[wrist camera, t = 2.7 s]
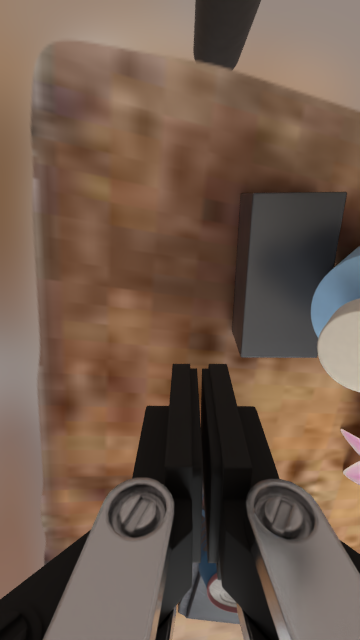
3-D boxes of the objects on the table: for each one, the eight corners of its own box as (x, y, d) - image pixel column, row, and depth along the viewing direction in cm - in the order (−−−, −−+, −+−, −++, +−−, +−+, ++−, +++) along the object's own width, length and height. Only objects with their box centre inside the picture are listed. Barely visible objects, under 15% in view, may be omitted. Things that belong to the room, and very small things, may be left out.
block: (240, 193, 24) (253, 192, 20) (316, 192, 24) (347, 192, 19) (231, 331, 29) (240, 357, 24) (296, 331, 29) (317, 358, 24)
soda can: (247, 492, 36) (273, 622, 25) (190, 484, 36) (191, 612, 25) (263, 448, 34) (300, 572, 23) (201, 439, 34) (209, 560, 22)
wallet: (203, 534, 37) (324, 552, 37) (202, 518, 38) (318, 536, 39) (172, 624, 44) (274, 638, 45) (173, 608, 46) (271, 621, 47)
